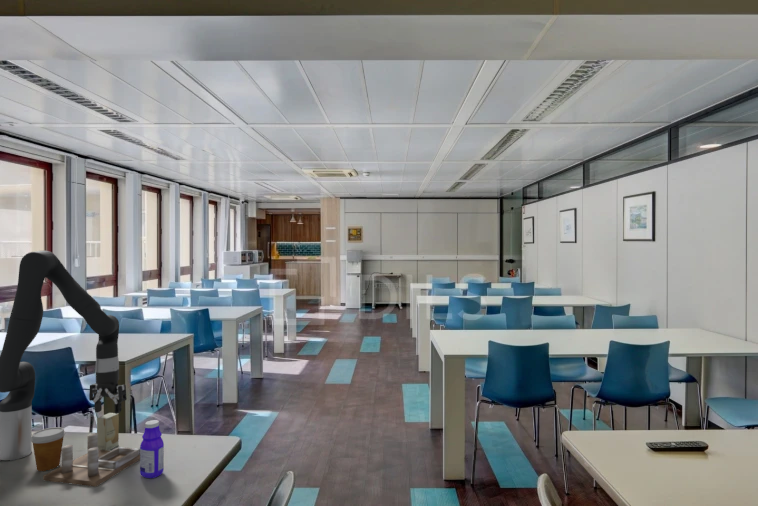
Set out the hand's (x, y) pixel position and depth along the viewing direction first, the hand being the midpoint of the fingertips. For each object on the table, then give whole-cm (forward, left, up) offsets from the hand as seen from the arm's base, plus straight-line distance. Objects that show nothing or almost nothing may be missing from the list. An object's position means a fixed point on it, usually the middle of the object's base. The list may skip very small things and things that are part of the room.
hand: (108, 412), depth 168 cm
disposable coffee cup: (-8, -17, -14) cm, 23 cm away
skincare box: (0, 0, -14) cm, 14 cm away
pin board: (+9, -15, -13) cm, 22 cm away
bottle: (+31, -15, -14) cm, 37 cm away
